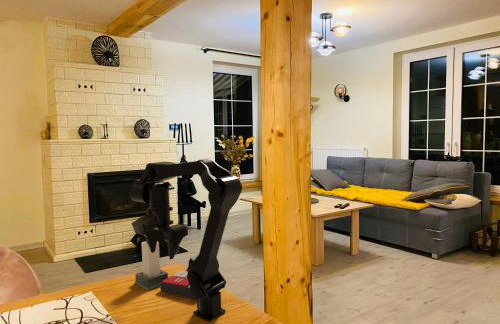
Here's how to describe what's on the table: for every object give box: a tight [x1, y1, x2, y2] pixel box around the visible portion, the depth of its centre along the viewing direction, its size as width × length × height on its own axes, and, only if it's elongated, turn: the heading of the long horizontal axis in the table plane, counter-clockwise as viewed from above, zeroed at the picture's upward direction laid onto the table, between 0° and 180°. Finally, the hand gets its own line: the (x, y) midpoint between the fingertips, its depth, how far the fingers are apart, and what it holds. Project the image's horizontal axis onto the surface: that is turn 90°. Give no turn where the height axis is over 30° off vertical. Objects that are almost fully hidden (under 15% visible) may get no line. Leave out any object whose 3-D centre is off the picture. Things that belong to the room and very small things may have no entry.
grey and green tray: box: [134, 269, 169, 291], centre depth 123 cm, size 8×8×3 cm
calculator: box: [159, 270, 210, 301], centre depth 118 cm, size 11×4×15 cm
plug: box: [141, 239, 161, 278], centre depth 122 cm, size 4×4×14 cm
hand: (162, 255), depth 111 cm, fingers open, 9 cm apart
